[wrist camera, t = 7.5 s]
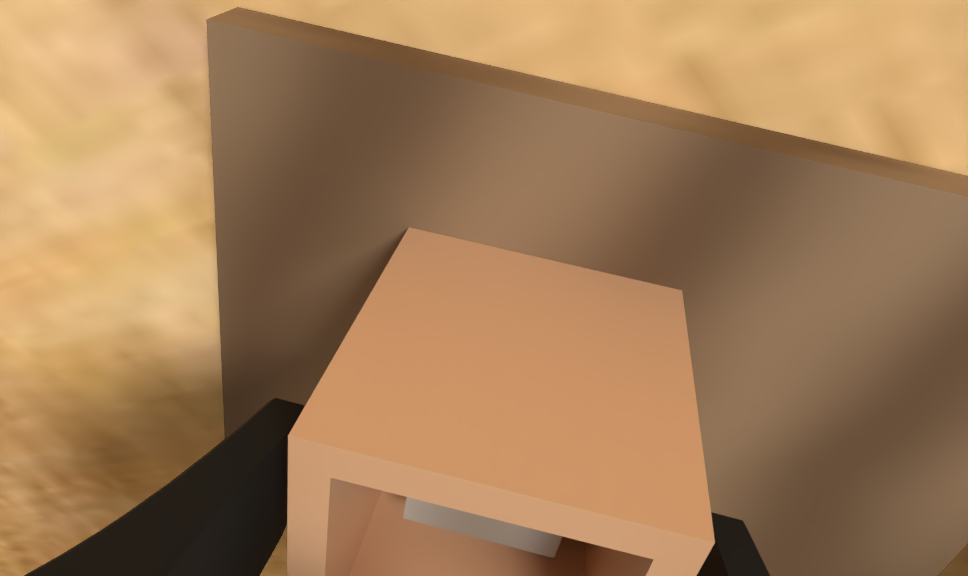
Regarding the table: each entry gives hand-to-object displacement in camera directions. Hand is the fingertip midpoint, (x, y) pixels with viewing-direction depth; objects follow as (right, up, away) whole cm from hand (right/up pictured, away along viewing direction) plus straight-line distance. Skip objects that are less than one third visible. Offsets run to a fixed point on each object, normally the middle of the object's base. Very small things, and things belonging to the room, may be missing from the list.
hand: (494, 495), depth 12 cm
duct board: (+3, +2, +4) cm, 5 cm away
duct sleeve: (+1, +2, +3) cm, 4 cm away
